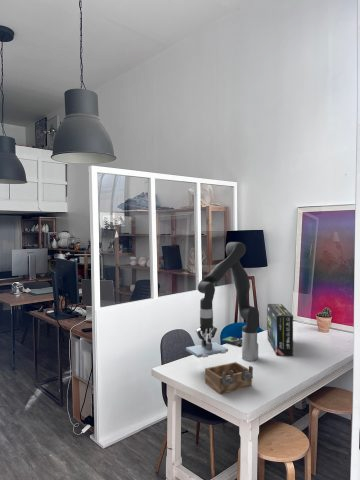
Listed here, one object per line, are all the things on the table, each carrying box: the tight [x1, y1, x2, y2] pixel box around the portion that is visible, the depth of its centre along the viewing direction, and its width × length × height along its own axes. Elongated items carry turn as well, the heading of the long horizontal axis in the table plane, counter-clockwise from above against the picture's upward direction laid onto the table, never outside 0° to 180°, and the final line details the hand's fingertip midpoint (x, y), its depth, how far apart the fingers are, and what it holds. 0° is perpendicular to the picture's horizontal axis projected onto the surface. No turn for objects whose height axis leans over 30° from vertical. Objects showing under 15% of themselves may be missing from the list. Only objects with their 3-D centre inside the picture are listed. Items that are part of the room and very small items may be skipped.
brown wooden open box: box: [204, 361, 254, 395], centre depth 189 cm, size 20×16×11 cm
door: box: [185, 339, 229, 359], centre depth 208 cm, size 20×16×5 cm
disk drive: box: [221, 336, 242, 348], centre depth 259 cm, size 10×3×15 cm
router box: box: [266, 303, 294, 357], centre depth 249 cm, size 36×11×27 cm, turn 177°
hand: (206, 345), depth 209 cm, fingers closed on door, 2 cm apart
